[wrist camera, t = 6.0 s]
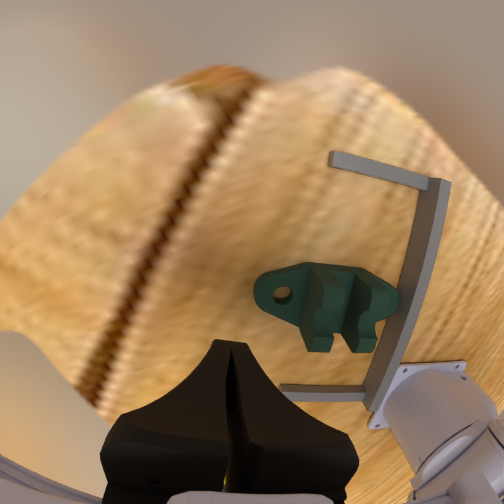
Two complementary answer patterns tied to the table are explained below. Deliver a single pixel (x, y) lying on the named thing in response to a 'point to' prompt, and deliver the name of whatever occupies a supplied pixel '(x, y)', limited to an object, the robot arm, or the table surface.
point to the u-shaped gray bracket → (409, 287)
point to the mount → (329, 303)
